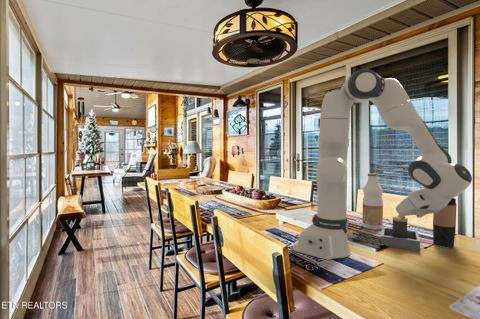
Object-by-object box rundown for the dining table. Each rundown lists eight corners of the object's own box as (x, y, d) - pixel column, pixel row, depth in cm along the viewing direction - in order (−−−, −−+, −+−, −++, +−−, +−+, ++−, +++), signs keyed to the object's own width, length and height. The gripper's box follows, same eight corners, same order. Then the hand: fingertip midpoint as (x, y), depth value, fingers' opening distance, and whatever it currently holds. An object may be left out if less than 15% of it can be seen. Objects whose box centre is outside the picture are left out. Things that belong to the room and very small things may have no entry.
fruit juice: (370, 230, 136) (371, 174, 135) (358, 225, 145) (359, 173, 144) (386, 229, 138) (387, 174, 137) (373, 224, 147) (374, 172, 146)
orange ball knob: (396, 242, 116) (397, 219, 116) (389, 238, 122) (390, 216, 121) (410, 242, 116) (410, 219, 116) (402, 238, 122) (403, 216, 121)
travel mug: (452, 249, 111) (453, 200, 110) (430, 244, 117) (431, 197, 116) (457, 244, 116) (458, 198, 115) (435, 240, 122) (436, 195, 121)
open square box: (380, 245, 117) (380, 235, 116) (382, 235, 129) (382, 227, 128) (420, 251, 110) (420, 241, 109) (417, 240, 122) (417, 231, 122)
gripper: (447, 190, 109) (423, 209, 119) (406, 192, 104) (385, 212, 113) (458, 203, 105) (433, 221, 115) (416, 207, 99) (393, 225, 109)
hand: (409, 217), depth 114 cm, fingers open, 8 cm apart
